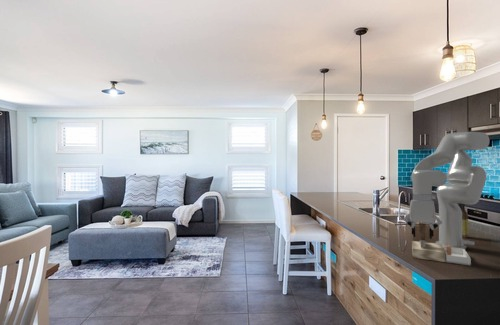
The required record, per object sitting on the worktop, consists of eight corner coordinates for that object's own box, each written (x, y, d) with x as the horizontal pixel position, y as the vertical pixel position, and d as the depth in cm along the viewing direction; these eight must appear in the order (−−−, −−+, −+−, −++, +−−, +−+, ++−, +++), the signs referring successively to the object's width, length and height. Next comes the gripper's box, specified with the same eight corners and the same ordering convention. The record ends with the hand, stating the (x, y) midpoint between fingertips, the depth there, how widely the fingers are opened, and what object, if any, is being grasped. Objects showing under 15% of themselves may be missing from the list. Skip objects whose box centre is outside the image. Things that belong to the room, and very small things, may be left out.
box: (464, 255, 126) (464, 249, 126) (470, 265, 114) (470, 258, 114) (442, 252, 130) (442, 246, 130) (446, 262, 118) (446, 255, 118)
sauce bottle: (462, 235, 162) (462, 200, 162) (471, 238, 155) (471, 202, 155) (451, 235, 161) (451, 200, 161) (460, 238, 155) (459, 202, 155)
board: (441, 252, 130) (441, 244, 130) (445, 262, 118) (445, 252, 118) (411, 249, 136) (411, 240, 136) (412, 257, 124) (412, 248, 124)
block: (445, 254, 126) (449, 255, 125) (447, 257, 122) (451, 258, 121) (445, 244, 126) (449, 245, 125) (447, 247, 122) (451, 247, 121)
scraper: (424, 243, 132) (424, 222, 132) (426, 248, 124) (426, 226, 124) (419, 242, 133) (418, 221, 133) (419, 247, 125) (419, 225, 125)
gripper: (443, 197, 127) (444, 237, 127) (400, 195, 136) (401, 233, 136) (445, 199, 121) (446, 241, 121) (400, 197, 129) (400, 236, 129)
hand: (422, 236), depth 128 cm, fingers open, 5 cm apart
